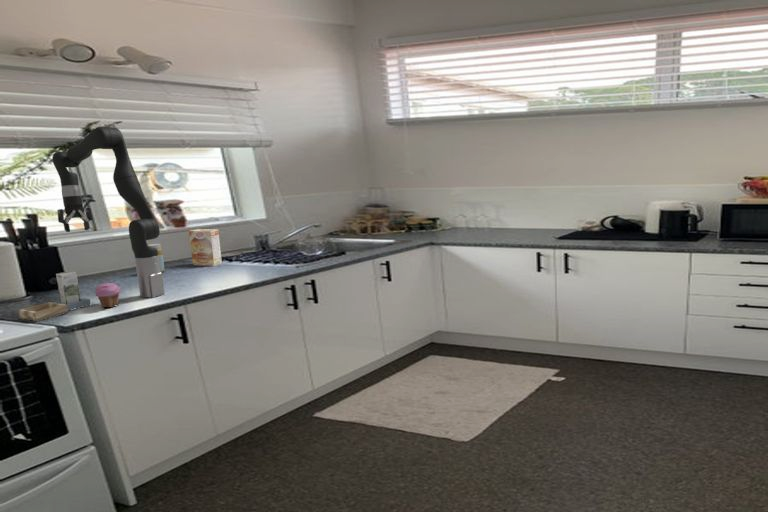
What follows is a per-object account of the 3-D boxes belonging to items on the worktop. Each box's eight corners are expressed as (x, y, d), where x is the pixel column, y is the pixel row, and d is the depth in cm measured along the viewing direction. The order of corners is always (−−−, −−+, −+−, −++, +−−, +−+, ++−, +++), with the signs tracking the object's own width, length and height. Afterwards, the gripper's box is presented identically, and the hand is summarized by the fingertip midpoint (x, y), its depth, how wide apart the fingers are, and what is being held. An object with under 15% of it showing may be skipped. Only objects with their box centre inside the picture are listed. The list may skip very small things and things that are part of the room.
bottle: (150, 274, 271) (146, 246, 268) (150, 272, 278) (146, 244, 275) (164, 273, 274) (161, 244, 271) (164, 270, 280) (161, 243, 277)
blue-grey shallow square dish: (90, 304, 215) (89, 299, 215) (66, 311, 206) (65, 305, 206) (76, 302, 220) (75, 297, 219) (51, 309, 211) (50, 303, 211)
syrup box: (76, 304, 217) (70, 270, 214) (82, 306, 213) (76, 271, 211) (61, 307, 213) (55, 273, 210) (66, 309, 209) (60, 274, 206)
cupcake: (112, 310, 206) (108, 285, 204) (92, 309, 207) (88, 285, 205) (126, 303, 214) (123, 280, 212) (108, 303, 216) (104, 280, 214)
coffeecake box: (192, 265, 292) (188, 230, 288) (201, 262, 299) (197, 228, 295) (214, 266, 287) (210, 230, 283) (222, 263, 293) (218, 229, 289)
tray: (67, 313, 204) (66, 304, 203) (36, 321, 194) (35, 312, 193) (50, 310, 209) (49, 301, 209) (19, 318, 199) (18, 309, 199)
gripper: (60, 195, 231) (66, 232, 232) (91, 194, 243) (97, 229, 245) (51, 197, 235) (57, 233, 236) (82, 196, 247) (88, 230, 248)
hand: (77, 231), depth 240 cm, fingers open, 8 cm apart
